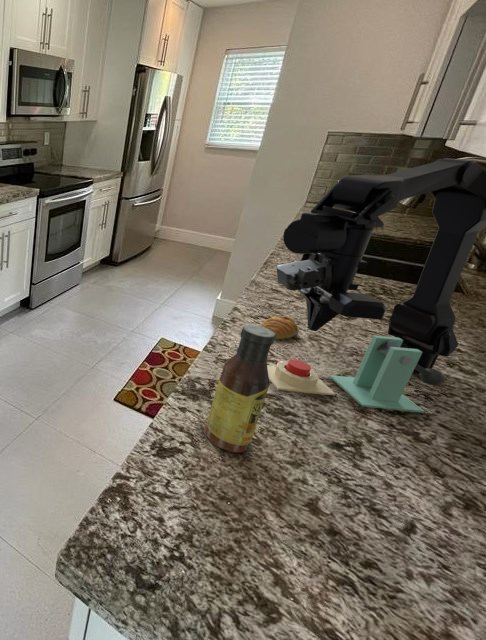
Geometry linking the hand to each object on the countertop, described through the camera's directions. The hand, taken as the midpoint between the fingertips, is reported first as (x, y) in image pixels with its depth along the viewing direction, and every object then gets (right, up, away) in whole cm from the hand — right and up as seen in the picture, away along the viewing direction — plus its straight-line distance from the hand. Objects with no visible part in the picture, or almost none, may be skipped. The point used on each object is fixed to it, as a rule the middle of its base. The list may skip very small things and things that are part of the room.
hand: (312, 329), depth 77 cm
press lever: (+16, -7, -2) cm, 17 cm away
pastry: (+10, -5, +23) cm, 26 cm away
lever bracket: (+12, -13, +1) cm, 18 cm away
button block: (0, -11, +4) cm, 12 cm away
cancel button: (0, -9, +3) cm, 9 cm away
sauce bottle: (-23, -16, -11) cm, 30 cm away
